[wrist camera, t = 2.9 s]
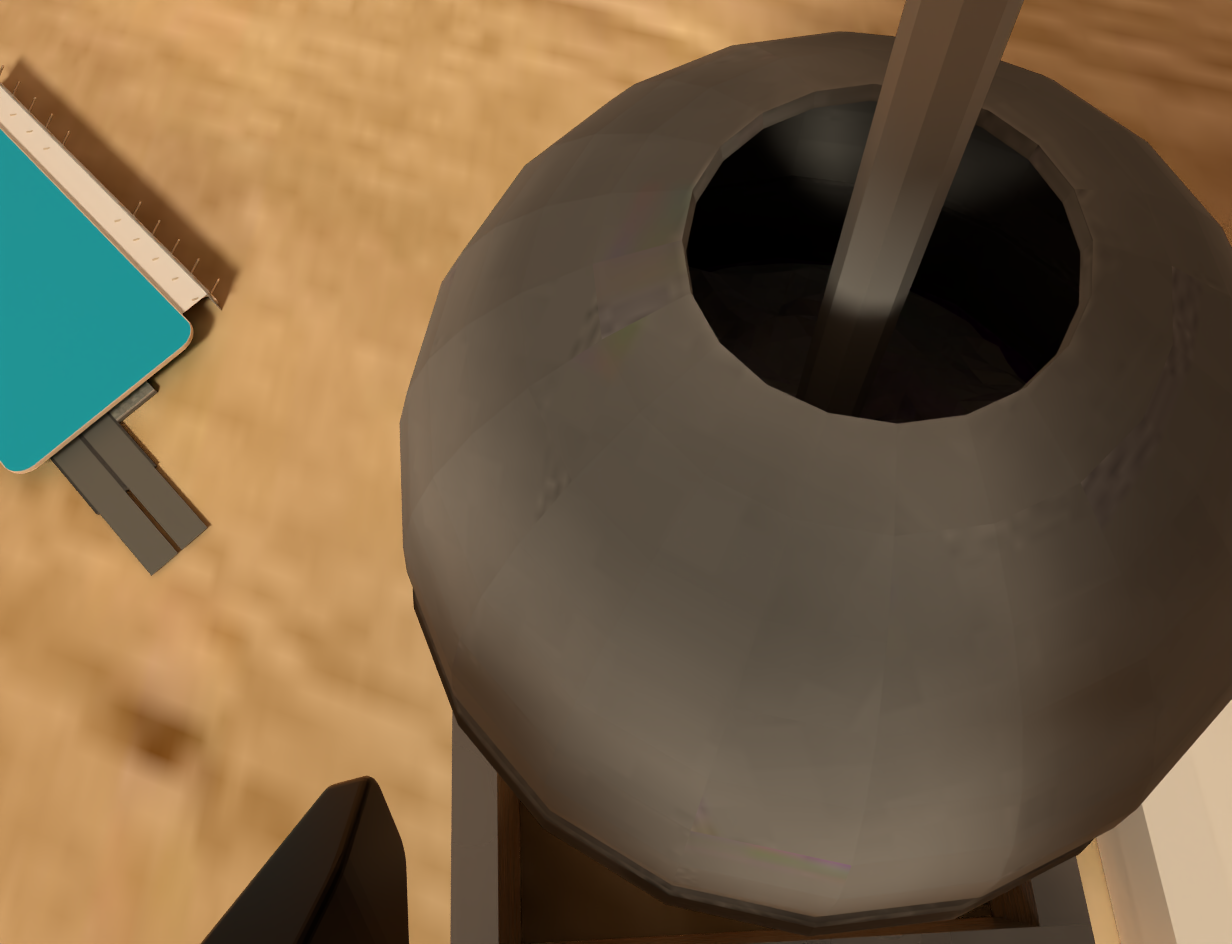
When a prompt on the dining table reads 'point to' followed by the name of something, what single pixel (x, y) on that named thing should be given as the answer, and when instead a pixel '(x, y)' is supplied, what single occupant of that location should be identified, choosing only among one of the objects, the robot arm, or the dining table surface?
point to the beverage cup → (832, 477)
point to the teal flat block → (85, 333)
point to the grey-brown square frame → (492, 933)
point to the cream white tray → (1178, 851)
